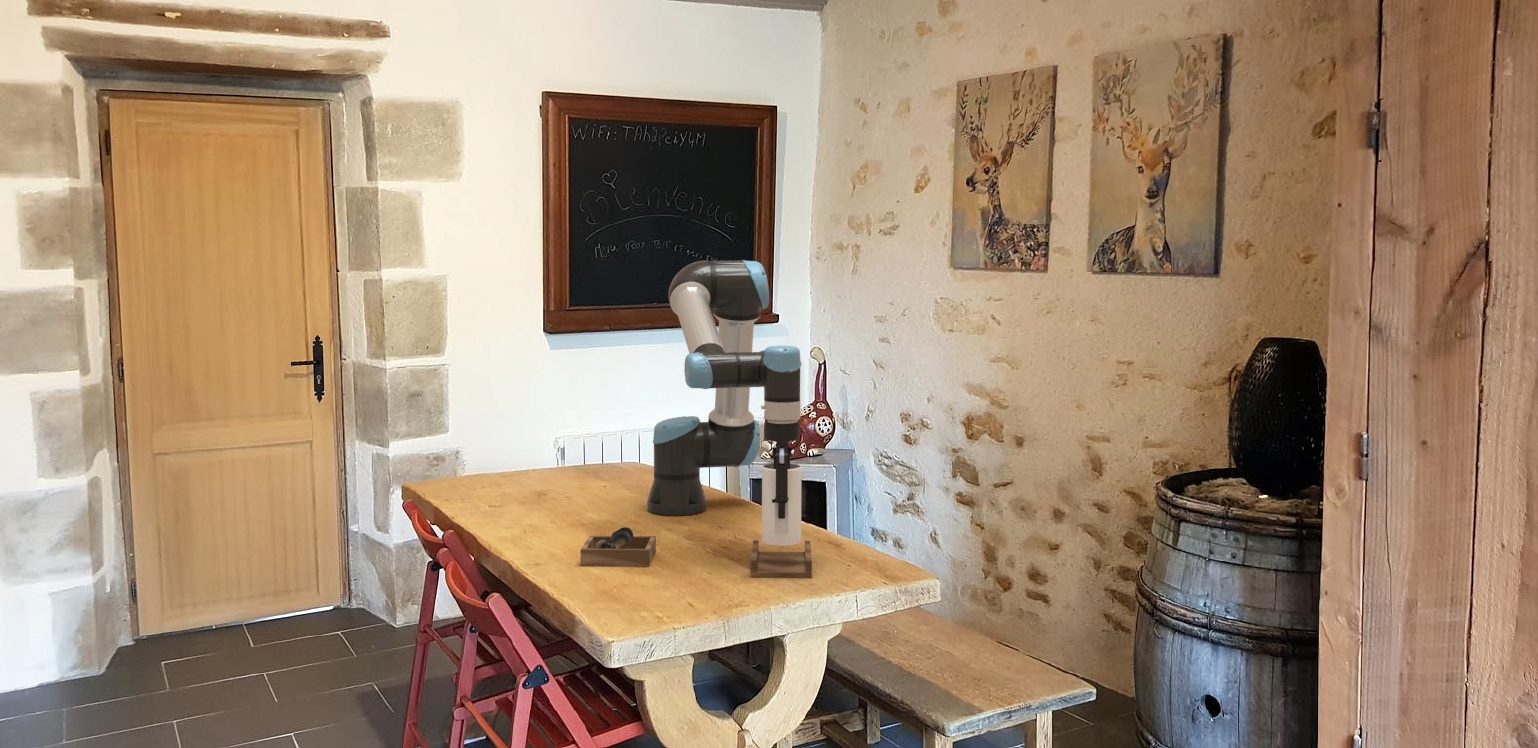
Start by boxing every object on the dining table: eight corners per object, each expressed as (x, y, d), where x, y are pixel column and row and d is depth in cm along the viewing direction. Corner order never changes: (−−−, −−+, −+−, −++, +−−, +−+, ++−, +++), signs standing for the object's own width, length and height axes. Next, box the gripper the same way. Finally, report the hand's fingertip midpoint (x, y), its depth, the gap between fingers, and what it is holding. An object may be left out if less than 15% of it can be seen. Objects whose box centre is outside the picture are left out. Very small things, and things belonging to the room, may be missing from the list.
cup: (768, 547, 234) (768, 470, 233) (757, 537, 242) (757, 463, 241) (806, 544, 237) (806, 468, 235) (794, 534, 245) (794, 461, 243)
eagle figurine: (635, 559, 241) (641, 541, 250) (615, 533, 240) (622, 515, 248) (606, 577, 243) (613, 557, 251) (586, 551, 241) (594, 532, 250)
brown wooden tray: (753, 555, 248) (753, 540, 248) (810, 556, 248) (810, 540, 248) (750, 577, 232) (750, 560, 232) (811, 577, 232) (811, 561, 232)
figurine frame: (590, 551, 252) (589, 535, 251) (655, 551, 251) (655, 536, 251) (580, 566, 240) (580, 549, 240) (649, 566, 240) (649, 550, 240)
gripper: (765, 413, 247) (764, 515, 250) (762, 428, 226) (762, 540, 229) (799, 413, 247) (799, 516, 250) (800, 428, 226) (800, 540, 229)
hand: (781, 527), depth 239 cm, fingers closed on cup, 8 cm apart
